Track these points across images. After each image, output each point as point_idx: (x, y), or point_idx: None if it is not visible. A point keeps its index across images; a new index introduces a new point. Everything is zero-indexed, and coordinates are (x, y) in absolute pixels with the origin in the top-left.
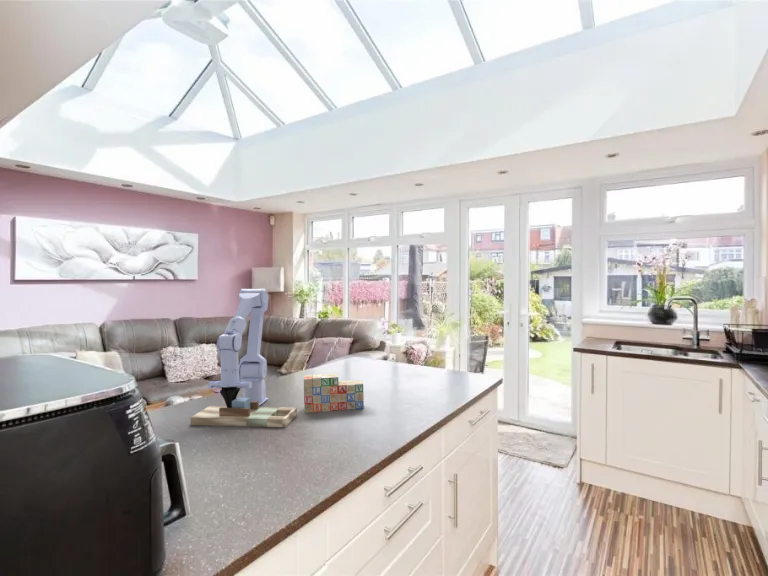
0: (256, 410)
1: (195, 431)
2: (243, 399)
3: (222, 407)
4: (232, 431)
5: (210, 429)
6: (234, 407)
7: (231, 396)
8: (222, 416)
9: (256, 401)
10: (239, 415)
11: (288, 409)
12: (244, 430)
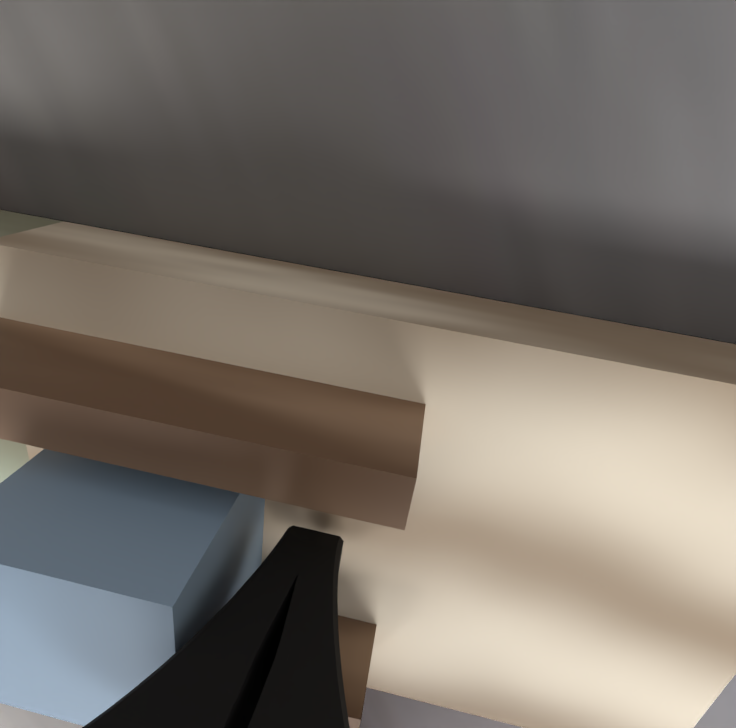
0: None
1: (727, 60)
2: (17, 645)
3: (485, 689)
4: (140, 23)
5: (494, 141)
6: (183, 504)
7: (122, 721)
8: (370, 381)
9: None
10: (111, 348)
11: None
12: (4, 58)
